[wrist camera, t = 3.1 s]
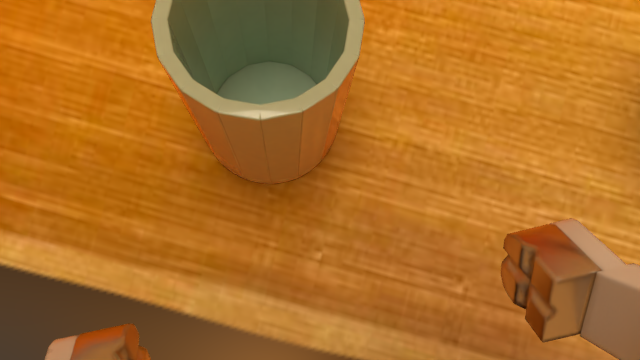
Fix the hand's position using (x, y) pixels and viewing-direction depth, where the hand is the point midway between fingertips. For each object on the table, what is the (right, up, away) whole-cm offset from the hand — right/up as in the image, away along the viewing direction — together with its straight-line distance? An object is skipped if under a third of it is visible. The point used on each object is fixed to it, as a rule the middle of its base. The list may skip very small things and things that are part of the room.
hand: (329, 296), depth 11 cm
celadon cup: (-3, +5, +13) cm, 14 cm away
